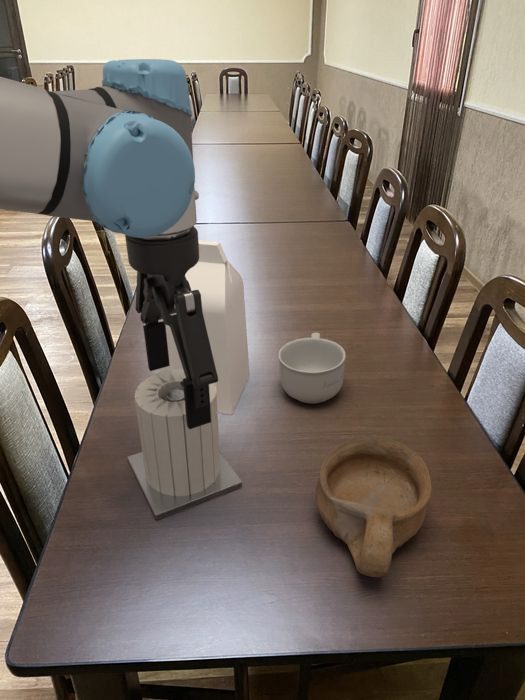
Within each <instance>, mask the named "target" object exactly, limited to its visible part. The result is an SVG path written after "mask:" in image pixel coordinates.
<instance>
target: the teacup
mask: <svg viewBox="0 0 525 700" xmlns="http://www.w3.org/2000/svg"><path fill="white" fill-rule="evenodd" d="M277 358H278V365H279V378H280V384H281V386H282V389H283V390H284V391H285V393H286V394H287V395H288V396H289V397H291V398H292V399H294V400H297V401H299V402H301V403H304V404H311V405H312V404H314V405H315V404H320V403H323V402H326V401H327V400H330V399H332V398H333V397H335V396H337V394H338V393H339V392H340V390H341V389H342V387H343V383H344V377H345V361H346V359H347V354H346V350H345V349H344V348H343V346H341V345H340V344H339V343H337V342H335V341H333V340H331V339H327V338H322V337H321V333H320V332H312V333H311V336H310V337H303V338H297V339H293V340H291V341H289V342H287V343H285V344H284V345H283V346H281V348H280V349H279V351H278V353H277Z"/></svg>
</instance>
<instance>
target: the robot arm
mask: <svg viewBox="0 0 525 700" xmlns="http://www.w3.org/2000/svg"><path fill="white" fill-rule="evenodd" d="M101 85H102V86H101ZM101 85H100V86H96V87H93V88H88V89H73V90H71V89H70V90H53V91H51V90H46V89H45V88H43V87H40V86H36V85H33V84H28V83H25V82H21V81H17V80H14V79H10V78H7V77H3V76H0V210H3V211H10V212H11V211H12V212H21V213H29V214H36V215H41V216H42V215H43V216H47V217H54V218H63V219H71V220H79V221H89V222H94V223H98V224H99V225H100V226H101V227H103V228H104V229H107V230H108V231H110V232H112V233H117V234H121V235H124V238H125V246H126V253H127V261H128V264H129V266H130V267H131V269H133V270H134V271H136V288H135V289H136V290H135V311H136V313H137V314H140V322H141V323H142V324H144V325H142V327H143V328H142V329H143V335H144V343H145V351H146V352H145V353H146V360H147V367H148V370H149V371H150V372H152V371H156V370H159V369H160V368H164V367H168V366H170V364H169V354H168V344H167V335H166V325H168V326H170V328H171V332H172V335H173V338H174V341H175V344H176V348H177V351H178V354H179V357H180V360H181V363H182V367H183V370H184V373H185V376H186V378H184V379H183V381H181V382H180V383H181V385H182V387H183V388H184V399H185V410H186V421H187V427H188V428H189V429H192V428H195V427H198V426H201V425H204V424H207V423H210V422H211V411H210V395H209V384H213V383H216V382H218V375H217V372H216V368H215V363H214V359H213V355H212V350H211V346H210V342H209V338H208V333H207V329H206V325H205V320H204V316H203V311H202V302H201V294H200V292H199V290H193V291H191V288H190V285H189V282H188V280H186V277H185V274H186V273H187V271H188V270H189V269H191V268H192V267H194V266H195V265H196V264H197V263H198V261H199V243H198V241H199V231H198V229H197V228H196V227H195V225H196V224H197V220H198V219H197V206H196V205H197V204H196V201H197V200H199V197H200V194H199V192H198V191H197V190H195V189H196V188H195V183H196V170H195V165H194V164H195V163H194V150H193V148H194V147H193V134H192V117H193V111H192V109H191V100H190V91H189V85H188V78H187V74H186V71H185V68H184V67H183V66H182V64H180V63H179V62H177V61H175V60H171V59H161V58H160V59H159V58H155V59H154V58H139V59H138V58H136V59H135V58H133V59H132V58H131V59H130V58H129V59H118V60H116V59H115V60H113V59H112V60H108V61H107V62H105V63H104V64H103V67H102V80H101ZM174 313H176V315H170V314H174ZM161 319H163V321H161V322H158V320H161ZM165 324H166V325H165Z"/></svg>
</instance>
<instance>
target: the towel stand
mask: <svg viewBox="0 0 525 700" xmlns="http://www.w3.org/2000/svg"><path fill="white" fill-rule="evenodd" d="M183 400H185V399H184V391H183V390H181V389H174V390H171V391H169V392H168V393H167V401H168V402H180V401H183ZM219 458H220V472H219V474H218V476H217V478H216V480H215V481H214V483H212V484H211V485H210V486H209V487H207V488H206V489H204V490H203V491H201V492H198V493H195V494H193V495H191V494H190V495H188V496H175V495H174V496H170V495H166V494H162V493H161V492H158V491H157V490H155V489H154V488H152V487H151V485H149V483H148V481H147V479H146V475H145V469H144V462H143V454H142V451H141V452H138V453H134V454H131V455H129V456H127V457H126V459H127V463H128V465H129V467H130V469H131V471H132V473H133V476H134V477H135V480H136V482H137V484H138V486H139V488H140V490H141V492H142V494H143V496H144V499H145V500H146V503H147V504H148V506H149V508H150V509H149V510H151V513H152V515H153V517H154V519H155V521H156V522H157V521H159V520H162V519H165V518H166V517H170V516H173V515H175V514H177V513H180V512H182V511H184V510H188V509H191V508H193V507H196V506H198V505H201V504H203V503H206V502H208V501H211V500H213V499H216V498H218V497H221V496H223V495H226V494H229V493H231V492H233V491H236V490H239V489H242V488H243V481H242V479H241V478H240V477H239V475H238V474H237V473H236V471H235V470H234V468H233V467H232V465H231V464H230V462H229V461H228V460H227V458H226V457H225V456H224V454H223V453H222V451H221V450H220V449H219Z"/></svg>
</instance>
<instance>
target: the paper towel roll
mask: <svg viewBox="0 0 525 700" xmlns="http://www.w3.org/2000/svg"><path fill="white" fill-rule="evenodd" d="M184 378H186V376H185V373H184V370H183V369H178V370H170V371H169V370H167V371H163V372H160V371H159V372H156V373H155V374H152V375H150V376H149V377H147V378H145V379H143V380H142V381H141V382H140V383H139V385H138V386H137V387H136V389H135V393H134V403H135V404H134V405H135V410H136V411H135V412H136V419H137V425H138V432H139V440H140V446H141V452H142V454H143V462H144V469H145V475H146V479H147V481H148V483H149V485H151V487H152V488H154V489H155V490H157V491H158V492H161V493H162V494H166V495H170V496H174V495H175V496H188V495H190V494H191V495H193V494H195V493H198V492H201V491H203V490H204V489H206V488H207V487H209V486H210V485H211V484H212V483H214V481H215V480H216V478H217V476H218V474H219V472H220V458H219V450H220V437H219V416H218V415H219V413H218V412H217V390H216V384H215V383H213V384H209V395H210V411H211V422H210V423H207V424H204V425H201V426H198V427H195V428H192V429H189V428H188V427H187V421H186V410H185V400H183V401H180V402H168V401H167V393H168V392H169V391H171V390H174V389H181V390H183V391H184V388H183V387H182V385H181V383H180V382H181V381H183V379H184Z"/></svg>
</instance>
